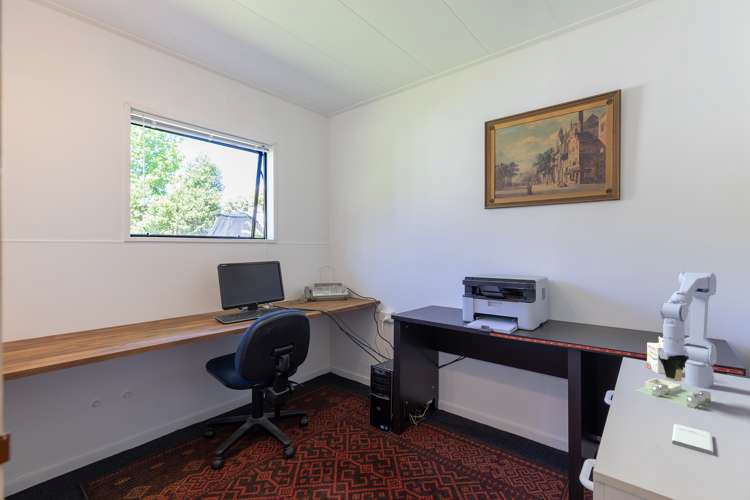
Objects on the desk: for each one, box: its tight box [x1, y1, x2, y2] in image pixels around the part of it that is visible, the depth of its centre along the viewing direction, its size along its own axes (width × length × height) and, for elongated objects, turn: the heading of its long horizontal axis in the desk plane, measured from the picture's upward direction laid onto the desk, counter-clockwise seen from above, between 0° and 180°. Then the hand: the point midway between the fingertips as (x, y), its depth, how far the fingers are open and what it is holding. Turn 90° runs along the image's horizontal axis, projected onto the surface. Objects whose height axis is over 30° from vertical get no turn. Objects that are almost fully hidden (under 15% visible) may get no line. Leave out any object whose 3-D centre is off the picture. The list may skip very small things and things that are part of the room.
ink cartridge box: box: [646, 336, 666, 375], centre depth 151 cm, size 9×5×15 cm, turn 168°
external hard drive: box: [671, 423, 715, 457], centre depth 98 cm, size 2×8×12 cm
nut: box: [665, 367, 683, 382], centre depth 123 cm, size 4×5×4 cm
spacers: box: [652, 384, 712, 410], centre depth 123 cm, size 12×13×3 cm
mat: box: [634, 385, 719, 411], centre depth 126 cm, size 17×18×1 cm
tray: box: [644, 377, 682, 394], centre depth 132 cm, size 8×8×2 cm
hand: (673, 376), depth 123 cm, fingers closed on nut, 4 cm apart
